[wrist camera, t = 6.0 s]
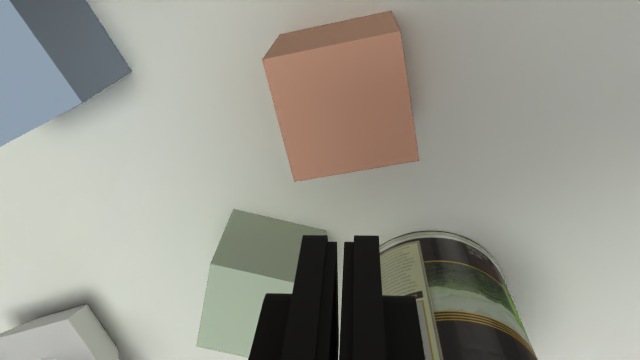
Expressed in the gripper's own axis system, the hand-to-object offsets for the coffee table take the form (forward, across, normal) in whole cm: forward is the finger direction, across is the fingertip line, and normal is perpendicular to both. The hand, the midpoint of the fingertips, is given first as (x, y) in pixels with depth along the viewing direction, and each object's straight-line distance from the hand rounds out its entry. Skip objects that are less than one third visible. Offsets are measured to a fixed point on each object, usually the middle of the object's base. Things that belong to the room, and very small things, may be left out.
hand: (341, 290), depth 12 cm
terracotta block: (+19, 0, 0) cm, 19 cm away
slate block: (+19, +16, -2) cm, 25 cm away
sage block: (+19, +5, +12) cm, 23 cm away
